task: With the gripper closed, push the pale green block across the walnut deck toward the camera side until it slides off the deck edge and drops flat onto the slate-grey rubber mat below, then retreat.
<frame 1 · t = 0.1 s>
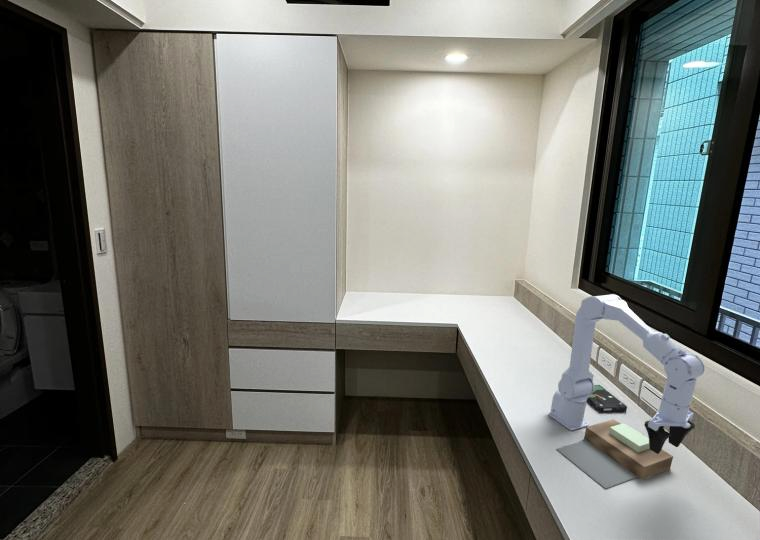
hand: (663, 447, 104), 10 cm above the table, fingers open, 7 cm apart
mat: (594, 462, 112), on the table
deck: (624, 453, 117), on the table
pale green block: (629, 440, 117), point 4 cm above the table, touching deck
disk drive: (598, 402, 145), on the table
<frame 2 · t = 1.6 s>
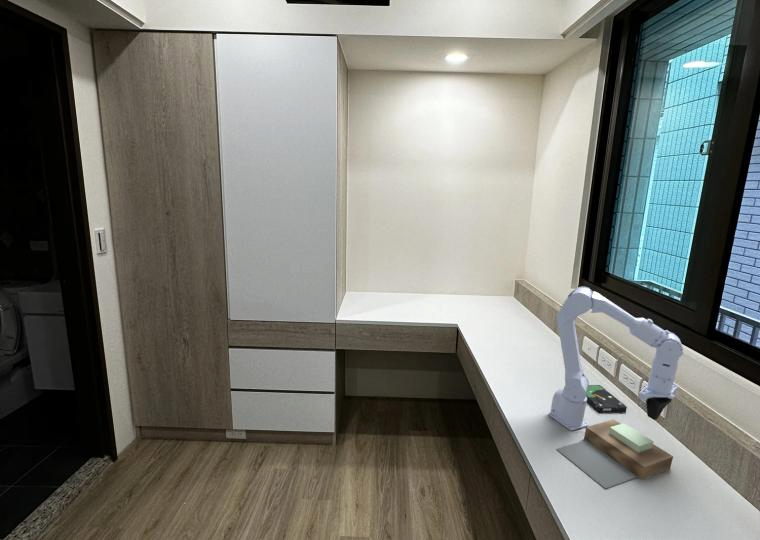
hand: (652, 417, 119), 10 cm above the table, fingers closed
nothing on the table moved.
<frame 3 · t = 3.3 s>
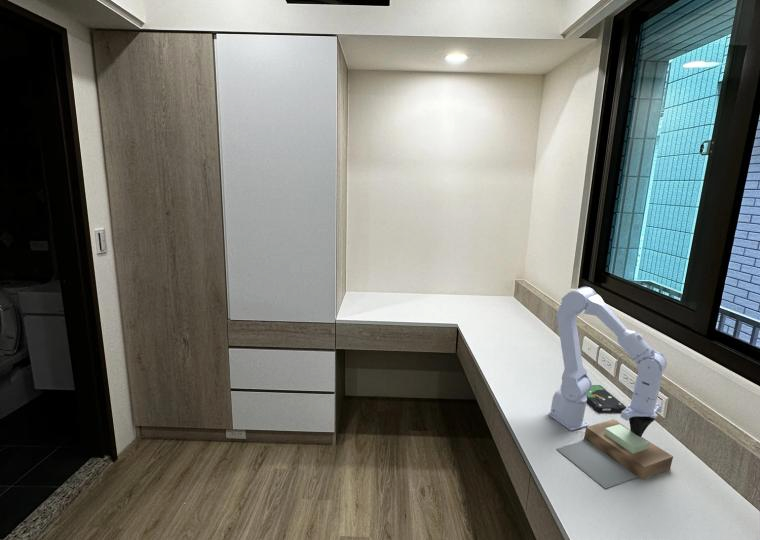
hand: (635, 436, 117), 5 cm above the table, fingers closed
pale green block: (625, 441, 116), point 4 cm above the table, touching deck, gripper
everything else where it was.
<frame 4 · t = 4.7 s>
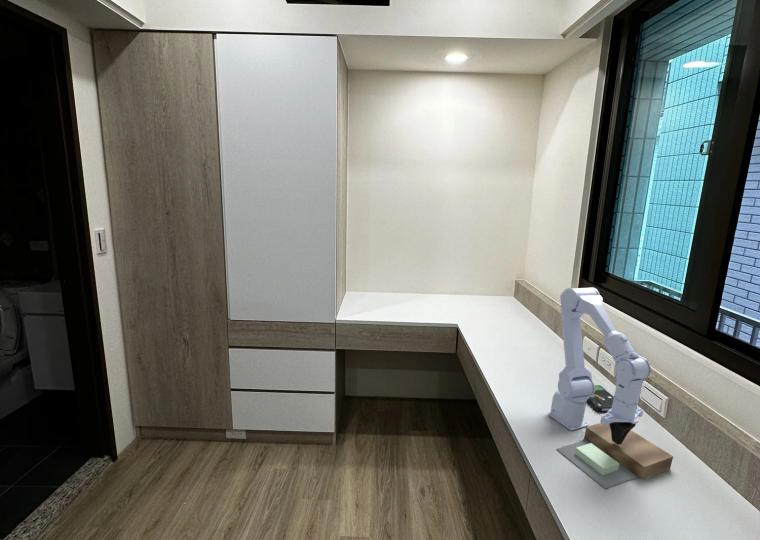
hand: (616, 442, 114), 5 cm above the table, fingers closed
pale green block: (597, 455, 112), point 2 cm above the table, tilted 180°, touching mat
everything else where it was.
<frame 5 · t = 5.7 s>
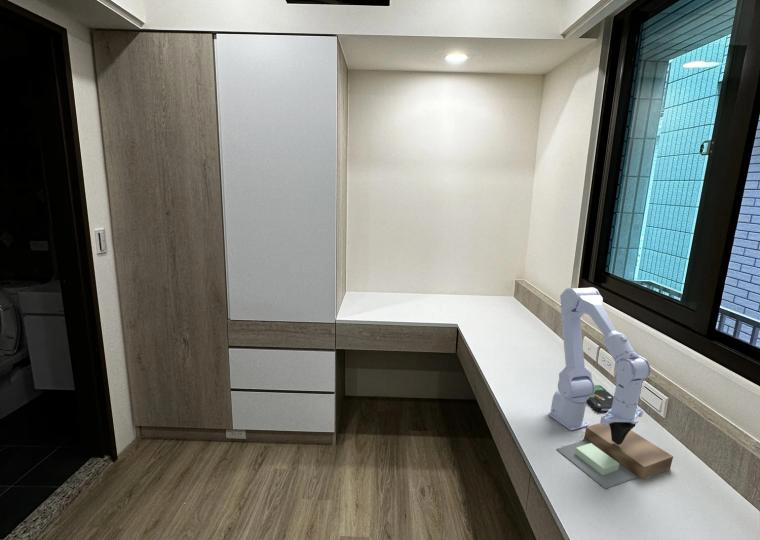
hand: (616, 442, 114), 5 cm above the table, fingers closed
nothing on the table moved.
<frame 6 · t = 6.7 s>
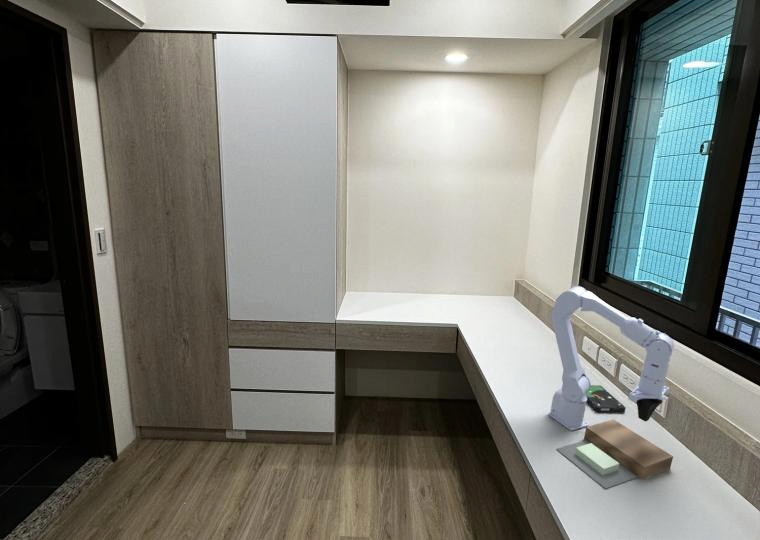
hand: (643, 419, 117), 10 cm above the table, fingers closed
nothing on the table moved.
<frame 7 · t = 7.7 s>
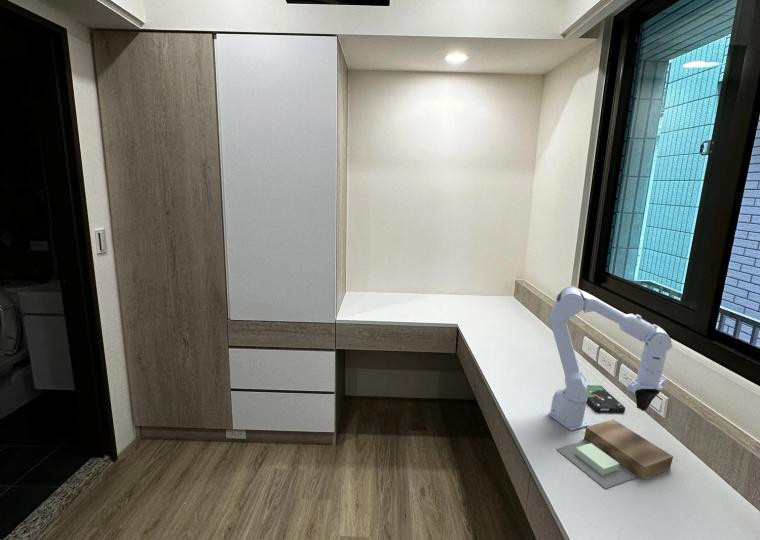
hand: (641, 408, 122), 10 cm above the table, fingers closed
nothing on the table moved.
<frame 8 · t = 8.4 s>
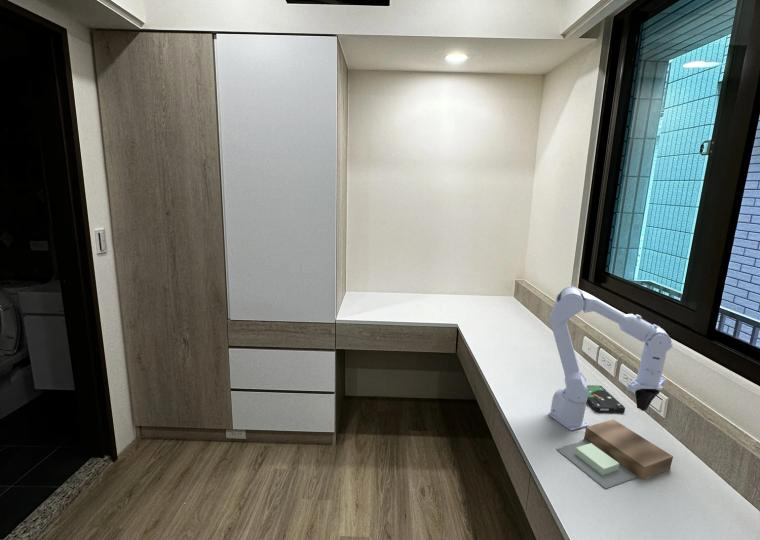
hand: (641, 408, 122), 10 cm above the table, fingers closed
nothing on the table moved.
at the end: pale green block point 2.3 cm above the table; pale green block inside the target area (0.5 cm from its centre), point 2.3 cm above the table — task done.
